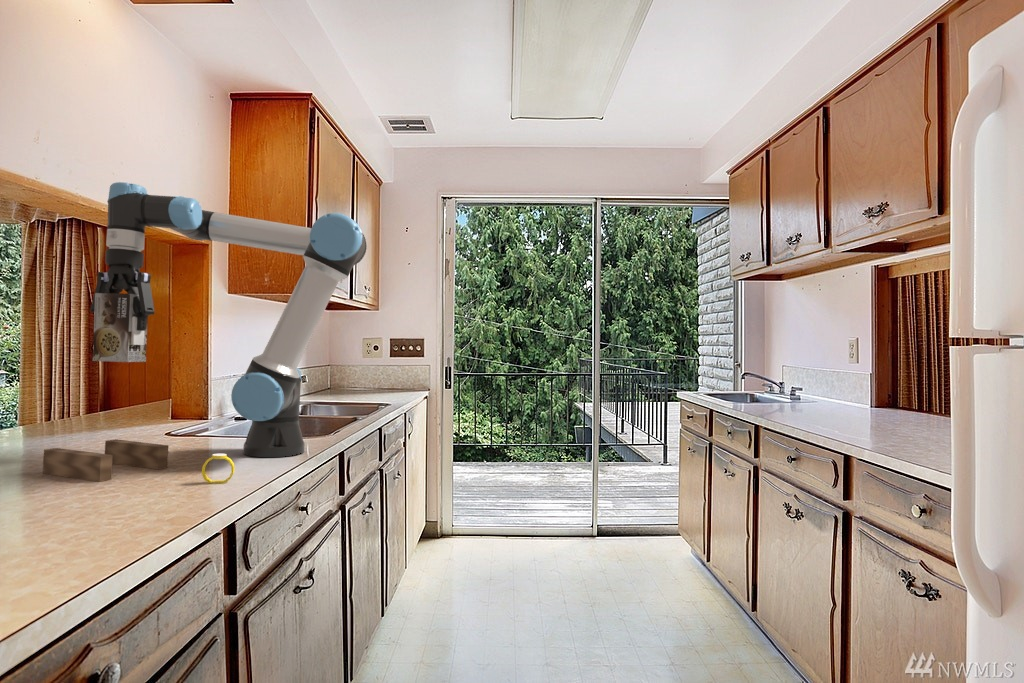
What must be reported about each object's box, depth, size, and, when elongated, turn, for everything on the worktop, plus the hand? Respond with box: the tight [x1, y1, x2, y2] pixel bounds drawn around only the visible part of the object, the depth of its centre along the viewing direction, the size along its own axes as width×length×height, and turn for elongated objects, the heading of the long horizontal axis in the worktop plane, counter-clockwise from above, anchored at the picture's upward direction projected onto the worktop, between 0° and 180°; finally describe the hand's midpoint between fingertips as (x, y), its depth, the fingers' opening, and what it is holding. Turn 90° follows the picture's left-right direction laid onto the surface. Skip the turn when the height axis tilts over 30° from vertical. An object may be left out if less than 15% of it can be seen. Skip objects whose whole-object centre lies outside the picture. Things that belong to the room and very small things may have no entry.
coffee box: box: [92, 292, 149, 363], centre depth 138 cm, size 9×6×16 cm
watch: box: [201, 452, 236, 484], centre depth 122 cm, size 6×3×6 cm, turn 106°
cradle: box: [42, 438, 169, 483], centre depth 128 cm, size 16×16×5 cm
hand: (120, 343), depth 138 cm, fingers closed on coffee box, 10 cm apart
